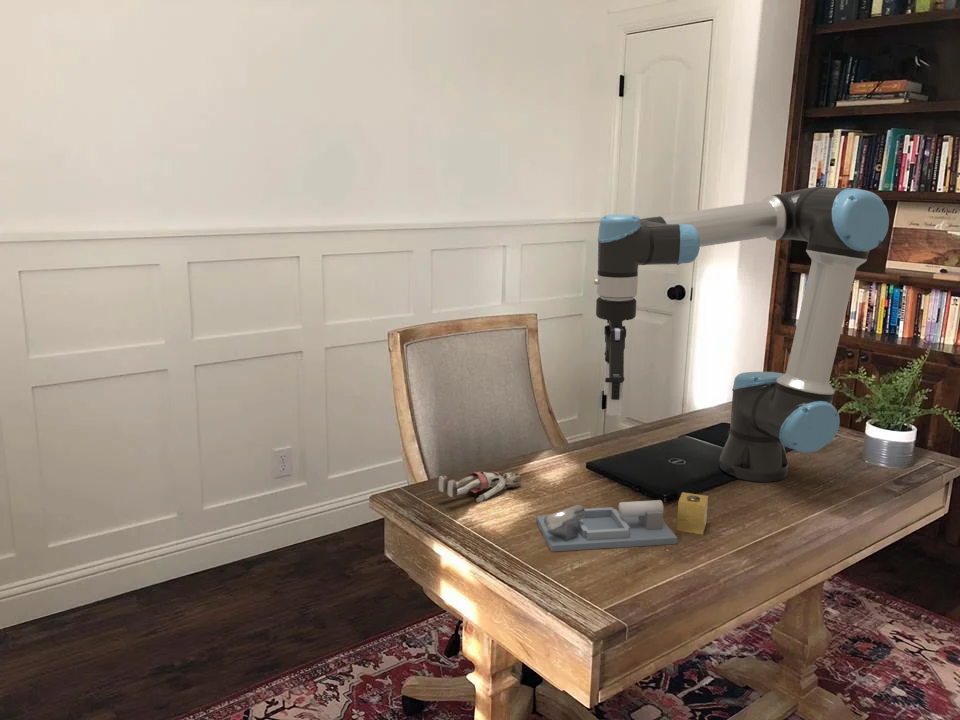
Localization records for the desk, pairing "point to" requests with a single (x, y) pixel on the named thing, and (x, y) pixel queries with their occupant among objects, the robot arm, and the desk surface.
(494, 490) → the figurine
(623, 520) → the grey fixture base
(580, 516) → the grey stone
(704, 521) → the coupler
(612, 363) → the robot arm
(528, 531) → the desk surface
